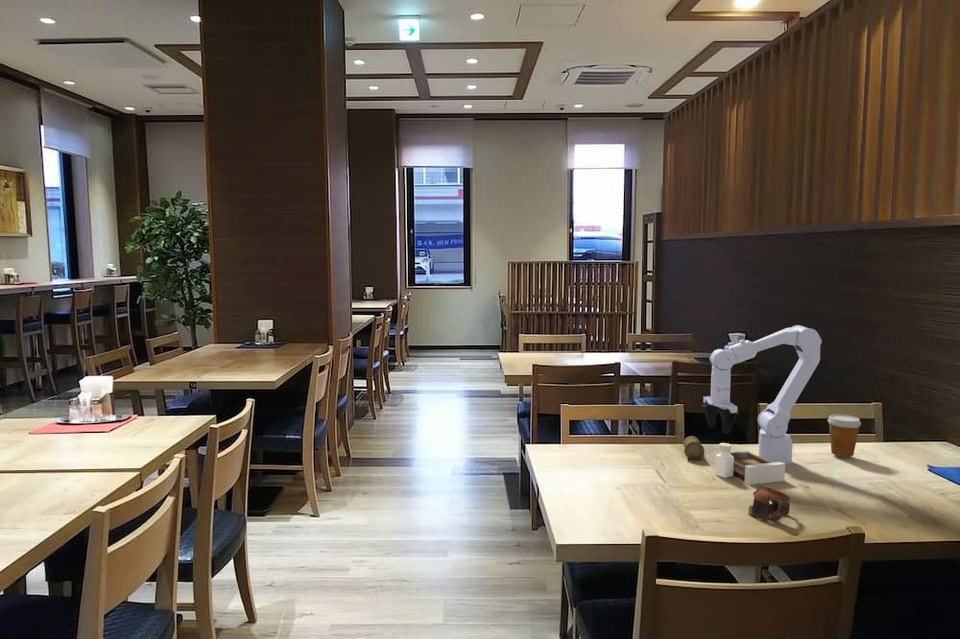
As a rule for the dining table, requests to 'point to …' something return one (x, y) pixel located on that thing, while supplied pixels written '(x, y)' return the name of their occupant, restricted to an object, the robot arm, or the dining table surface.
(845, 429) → the disposable coffee cup
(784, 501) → the pottery mug
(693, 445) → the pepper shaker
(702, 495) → the dining table surface
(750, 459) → the brown wooden square tray
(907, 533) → the dining table surface
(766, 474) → the block
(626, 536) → the dining table surface
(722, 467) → the pepper shaker
